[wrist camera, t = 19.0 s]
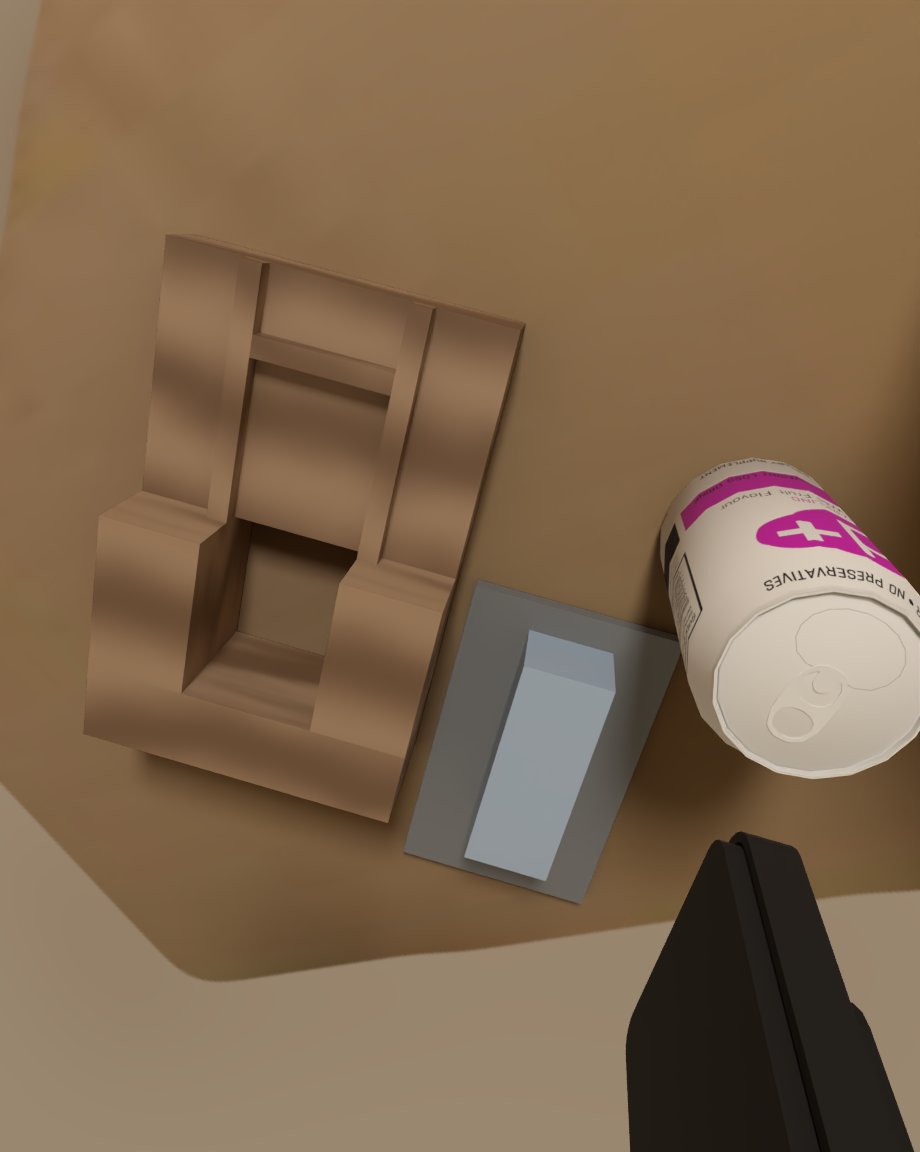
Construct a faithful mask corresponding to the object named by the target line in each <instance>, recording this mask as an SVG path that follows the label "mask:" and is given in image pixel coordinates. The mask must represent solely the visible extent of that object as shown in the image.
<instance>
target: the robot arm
mask: <svg viewBox="0 0 920 1152" xmlns="http://www.w3.org/2000/svg"><path fill="white" fill-rule="evenodd" d="M626 1067H627V1068H626V1069H627V1090H628V1112H629V1134H630V1152H914V1150H913V1147H912V1145H911V1142H910V1139H909V1136H908V1133H907V1130H906V1128H905V1125H904V1122H903V1119H902V1117H901V1114H900V1111H899V1108H898V1105H897V1102H896V1100H895V1097H894V1094H893V1091H892V1088H891V1086H890V1083H889V1080H888V1077H887V1074H886V1071H885V1069H884V1066H883V1063H882V1060H881V1057H880V1055H879V1052H878V1049H877V1046H876V1043H875V1041H874V1038H873V1035H872V1032H871V1029H870V1027H869V1025H868V1023H867V1021H866V1019H865V1017H864V1015H863V1013H862V1012H861V1011H860V1010H859V1009H858V1008H857V1007H856V1006H855V1005H854V1004H853V1003H851V1002H850V1000H849V997H848V994H847V991H846V988H845V985H844V982H843V979H842V976H841V973H840V970H839V967H838V964H837V962H836V959H835V956H834V953H833V950H832V947H831V944H830V941H829V938H828V935H827V932H826V930H825V926H824V924H823V921H822V918H821V915H820V912H819V909H818V906H817V903H816V900H815V897H814V894H813V891H812V888H811V886H810V883H809V880H808V877H807V874H806V871H805V868H804V865H803V862H802V859H801V856H800V855H799V853H798V851H797V849H795V848H794V847H792V846H790V845H786V844H783V843H779V842H776V841H772V840H769V839H766V838H762V837H759V836H755V835H752V834H748V833H745V832H737V833H736V834H735V835H734V836H733V837H732V838H731V839H730V841H729V843H728V842H725V841H721V840H715V841H714V842H713V843H712V844H711V846H710V848H709V850H708V852H707V854H706V856H705V858H704V860H703V863H702V865H701V867H700V869H699V871H698V873H697V876H696V878H695V880H694V882H693V884H692V886H691V889H690V891H689V893H688V895H687V897H686V899H685V902H684V904H683V906H682V908H681V910H680V912H679V915H678V917H677V919H676V921H675V923H674V925H673V928H672V930H671V932H670V934H669V936H668V938H667V941H666V943H665V945H664V947H663V949H662V951H661V954H660V956H659V958H658V960H657V962H656V964H655V967H654V969H653V971H652V973H651V975H650V977H649V980H648V982H647V984H646V986H645V988H644V990H643V993H642V995H641V997H640V999H639V1001H638V1003H637V1006H636V1008H635V1010H634V1012H633V1015H632V1017H631V1020H630V1024H629V1028H628V1033H627V1040H626Z"/></svg>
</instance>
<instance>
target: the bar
mask: <svg viewBox="0 0 920 1152" xmlns="http://www.w3.org/2000/svg"><path fill="white" fill-rule="evenodd" d="M615 693H616V689H615V673H614V656H613V653H609V652H606V651H602V650H599V649H595V648H592V647H588V646H584V645H581V644H577V643H574V642H570V641H567V640H563V639H560V638H556V637H553V636H549V635H546V634H542V633H539V632H535V631H532V630H529V632H528V636H527V639H526V642H525V645H524V649H523V652H522V655H521V658H520V661H519V665H518V668H517V671H516V674H515V678H514V681H513V684H512V687H511V690H510V694H509V697H508V700H507V703H506V707H505V710H504V713H503V716H502V719H501V723H500V726H499V729H498V732H497V735H496V739H495V742H494V745H493V748H492V752H491V755H490V758H489V761H488V764H487V768H486V771H485V774H484V777H483V781H482V784H481V787H480V790H479V793H478V797H477V800H476V803H475V806H474V810H473V814H472V819H471V824H470V829H469V834H468V839H467V845H466V850H465V855H464V857H465V858H469V859H472V860H476V861H479V862H482V863H486V864H489V865H493V866H496V867H499V868H503V869H506V870H510V871H513V872H516V873H520V874H523V875H527V876H530V877H533V878H537V879H540V880H543V881H546V879H547V877H548V874H549V871H550V868H551V866H552V863H553V860H554V858H555V855H556V852H557V849H558V847H559V844H560V841H561V839H562V836H563V833H564V831H565V828H566V825H567V822H568V820H569V817H570V814H571V812H572V809H573V806H574V804H575V801H576V798H577V795H578V793H579V790H580V787H581V785H582V782H583V779H584V777H585V774H586V771H587V768H588V766H589V763H590V760H591V758H592V755H593V752H594V749H595V747H596V744H597V741H598V739H599V736H600V733H601V731H602V728H603V725H604V722H605V720H606V717H607V714H608V712H609V709H610V706H611V704H612V701H613V698H614V695H615Z"/></svg>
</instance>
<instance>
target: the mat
mask: <svg viewBox="0 0 920 1152" xmlns="http://www.w3.org/2000/svg"><path fill="white" fill-rule="evenodd" d="M529 630H532V631H535V632H539V633H542V634H546V635H549V636H553V637H556V638H560V639H563V640H567V641H570V642H574V643H577V644H581V645H584V646H588V647H592V648H595V649H599V650H602V651H606V652H609V653H613V656H614V673H615V689H616V693H615V695H614V698H613V701H612V704H611V706H610V709H609V712H608V714H607V717H606V720H605V722H604V725H603V728H602V731H601V733H600V736H599V739H598V741H597V744H596V747H595V749H594V752H593V755H592V758H591V760H590V763H589V766H588V768H587V771H586V774H585V777H584V779H583V782H582V785H581V787H580V790H579V793H578V795H577V798H576V801H575V804H574V806H573V809H572V812H571V814H570V817H569V820H568V822H567V825H566V828H565V831H564V833H563V836H562V839H561V841H560V844H559V847H558V849H557V852H556V855H555V858H554V860H553V863H552V866H551V868H550V871H549V874H548V877H547V879H546V881H543V880H540V879H537V878H533V877H530V876H527V875H523V874H520V873H516V872H513V871H510V870H506V869H503V868H499V867H496V866H493V865H489V864H486V863H482V862H479V861H476V860H472V859H469V858H465V857H464V855H465V850H466V845H467V839H468V834H469V829H470V824H471V819H472V814H473V810H474V806H475V803H476V800H477V797H478V793H479V790H480V787H481V784H482V781H483V777H484V774H485V771H486V768H487V764H488V761H489V758H490V755H491V752H492V748H493V745H494V742H495V739H496V735H497V732H498V729H499V726H500V723H501V719H502V716H503V713H504V710H505V707H506V703H507V700H508V697H509V694H510V690H511V687H512V684H513V681H514V678H515V674H516V671H517V668H518V665H519V661H520V658H521V655H522V652H523V649H524V645H525V642H526V639H527V636H528V632H529ZM680 654H681V648H680V643H679V639H678V636H677V635H674V634H670V633H666V632H663V631H659V630H656V629H652V628H649V627H645V626H642V625H638V624H634V623H631V622H627V621H624V620H620V619H617V618H613V617H610V616H606V615H602V614H599V613H595V612H592V611H588V610H585V609H581V608H578V607H574V606H570V605H567V604H563V603H560V602H556V601H553V600H549V599H546V598H542V597H538V596H535V595H531V594H528V593H524V592H521V591H517V590H513V589H510V588H506V587H503V586H499V585H496V584H492V583H489V582H485V581H481V580H478V581H477V584H476V587H475V591H474V595H473V598H472V602H471V605H470V609H469V613H468V616H467V620H466V624H465V627H464V631H463V635H462V638H461V642H460V646H459V649H458V653H457V657H456V660H455V664H454V667H453V671H452V675H451V678H450V682H449V686H448V689H447V693H446V697H445V700H444V704H443V708H442V711H441V715H440V719H439V722H438V726H437V729H436V733H435V737H434V740H433V744H432V748H431V751H430V755H429V759H428V762H427V766H426V770H425V773H424V777H423V781H422V784H421V788H420V791H419V795H418V799H417V802H416V806H415V810H414V813H413V817H412V821H411V824H410V828H409V832H408V835H407V839H406V843H405V846H404V850H403V852H405V853H408V854H412V855H415V856H419V857H422V858H425V859H429V860H432V861H436V862H439V863H442V864H446V865H449V866H453V867H456V868H459V869H463V870H466V871H470V872H473V873H476V874H480V875H483V876H487V877H490V878H493V879H497V880H500V881H504V882H507V883H510V884H514V885H517V886H521V887H524V888H527V889H531V890H534V891H538V892H541V893H544V894H548V895H551V896H555V897H558V898H561V899H565V900H568V901H572V902H575V903H578V904H582V901H583V899H584V896H585V894H586V891H587V889H588V886H589V883H590V881H591V878H592V876H593V873H594V871H595V868H596V866H597V863H598V861H599V858H600V856H601V853H602V851H603V848H604V846H605V843H606V841H607V838H608V836H609V833H610V831H611V828H612V826H613V823H614V821H615V818H616V815H617V813H618V810H619V808H620V805H621V803H622V800H623V798H624V795H625V793H626V790H627V788H628V785H629V783H630V780H631V778H632V775H633V773H634V770H635V768H636V765H637V763H638V760H639V758H640V755H641V753H642V750H643V747H644V745H645V742H646V740H647V737H648V735H649V732H650V730H651V727H652V725H653V722H654V720H655V717H656V715H657V712H658V710H659V707H660V705H661V702H662V700H663V697H664V695H665V692H666V690H667V687H668V685H669V682H670V679H671V677H672V674H673V672H674V669H675V667H676V664H677V662H678V659H679V657H680Z"/></svg>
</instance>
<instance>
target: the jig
mask: <svg viewBox="0 0 920 1152" xmlns="http://www.w3.org/2000/svg"><path fill="white" fill-rule="evenodd" d="M525 324H526V323H522V322H518V321H515V320H511V319H507V318H503V317H500V316H496V315H492V314H489V313H485V312H481V311H477V310H474V309H470V308H466V307H463V306H459V305H455V304H451V303H448V302H444V301H440V300H436V299H433V298H429V297H425V296H422V295H418V294H414V293H410V292H407V291H403V290H399V289H396V288H392V287H388V286H384V285H381V284H377V283H373V282H370V281H366V280H362V279H358V278H355V277H351V276H347V275H344V274H340V273H336V272H332V271H329V270H325V269H321V268H318V267H314V266H310V265H306V264H303V263H299V262H295V261H292V260H288V259H284V258H280V257H277V256H273V255H269V254H266V253H262V252H258V251H254V250H251V249H247V248H243V247H240V246H236V245H232V244H228V243H225V242H221V241H217V240H214V239H210V238H206V237H202V236H199V235H166V240H165V251H164V262H163V273H162V283H161V294H160V305H159V316H158V327H157V337H156V348H155V359H154V370H153V381H152V391H151V402H150V413H149V424H148V435H147V445H146V456H145V467H144V478H143V488H142V491H141V492H139V493H137V494H136V495H134V496H132V497H130V498H129V499H127V500H125V501H123V502H122V503H120V504H118V505H117V506H115V507H113V508H111V509H110V510H108V511H106V512H104V513H103V514H101V515H99V522H98V536H97V550H96V564H95V578H94V592H93V606H92V620H91V634H90V648H89V662H88V676H87V690H86V703H85V717H84V731H83V734H86V735H89V736H92V737H96V738H99V739H103V740H106V741H109V742H113V743H116V744H120V745H123V746H126V747H130V748H133V749H137V750H140V751H144V752H147V753H150V754H154V755H157V756H161V757H164V758H167V759H171V760H174V761H178V762H181V763H184V764H188V765H191V766H195V767H198V768H202V769H205V770H208V771H212V772H215V773H219V774H222V775H225V776H229V777H232V778H236V779H239V780H242V781H246V782H249V783H253V784H256V785H259V786H263V787H266V788H270V789H273V790H277V791H280V792H283V793H287V794H290V795H294V796H297V797H300V798H304V799H307V800H311V801H314V802H317V803H321V804H324V805H328V806H331V807H335V808H338V809H341V810H345V811H348V812H352V813H355V814H358V815H362V816H365V817H369V818H372V819H375V820H379V821H382V822H386V823H388V821H389V818H390V815H391V812H392V809H393V806H394V803H395V801H396V798H397V795H398V792H399V789H400V786H401V783H402V780H403V777H404V774H405V771H406V768H407V765H408V762H409V759H410V756H411V753H412V751H413V748H414V745H415V741H416V737H417V733H418V729H419V726H420V722H421V718H422V714H423V710H424V707H425V703H426V699H427V695H428V692H429V688H430V684H431V680H432V676H433V673H434V669H435V665H436V661H437V657H438V654H439V650H440V646H441V642H442V638H443V635H444V631H445V627H446V623H447V620H448V616H449V612H450V608H451V604H452V601H453V597H454V593H455V589H456V585H457V582H458V578H459V574H460V570H461V566H462V563H463V559H464V555H465V551H466V547H467V544H468V540H469V536H470V532H471V529H472V525H473V521H474V517H475V513H476V510H477V506H478V502H479V498H480V494H481V491H482V487H483V483H484V479H485V475H486V472H487V468H488V464H489V460H490V457H491V453H492V449H493V445H494V441H495V438H496V434H497V430H498V426H499V422H500V419H501V415H502V411H503V407H504V403H505V400H506V396H507V392H508V388H509V385H510V381H511V377H512V373H513V369H514V366H515V362H516V358H517V354H518V350H519V347H520V343H521V339H522V335H523V331H524V328H525ZM253 522H255V523H259V524H262V525H266V526H270V527H273V528H277V529H280V530H284V531H287V532H291V533H294V534H298V535H302V536H305V537H309V538H312V539H316V540H319V541H323V542H326V543H330V544H334V545H337V546H341V547H344V548H348V549H351V550H355V551H358V555H357V560H356V561H355V562H354V564H353V565H352V567H351V568H350V570H349V571H348V572H347V574H346V575H345V577H344V578H343V579H342V581H341V582H340V584H339V588H338V593H337V598H336V603H335V608H334V613H333V618H332V623H331V628H330V633H329V638H328V643H327V648H326V653H325V656H322V655H318V654H315V653H311V652H308V651H304V650H301V649H297V648H294V647H290V646H287V645H283V644H280V643H276V642H273V641H269V640H266V639H262V638H259V637H255V636H252V635H248V634H245V633H241V632H238V631H237V625H238V618H239V612H240V605H241V598H242V592H243V585H244V579H245V572H246V565H247V559H248V552H249V545H250V539H251V532H252V526H253Z"/></svg>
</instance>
